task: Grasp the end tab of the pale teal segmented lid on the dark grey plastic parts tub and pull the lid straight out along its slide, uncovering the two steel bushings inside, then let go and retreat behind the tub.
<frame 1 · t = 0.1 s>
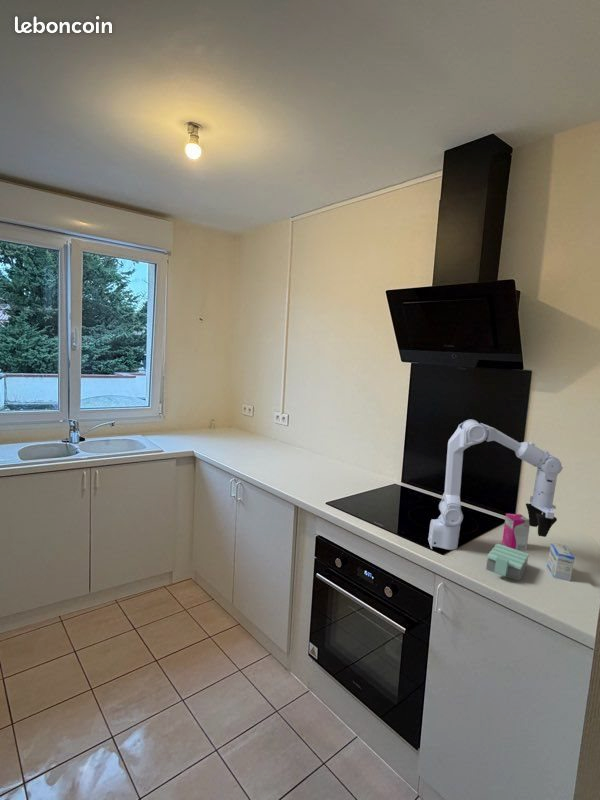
hand: (537, 531, 135), 10 cm above the worktop, fingers open, 7 cm apart
tub: (506, 570, 128), on the worktop
lid: (506, 558, 126), point 5 cm above the worktop, slide at 0.0 cm
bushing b: (501, 566, 129), point 1 cm above the worktop, touching tub
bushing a: (515, 568, 128), point 1 cm above the worktop, touching tub
medicine box: (557, 576, 128), on the worktop
supplement box: (513, 548, 144), on the worktop
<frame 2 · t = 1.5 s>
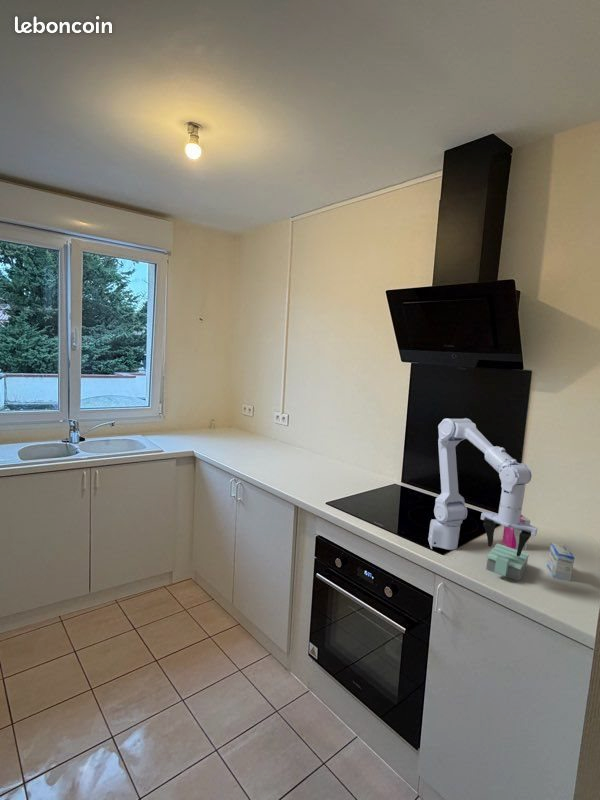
hand: (504, 550, 120), 10 cm above the worktop, fingers open, 7 cm apart
nothing on the worktop moved.
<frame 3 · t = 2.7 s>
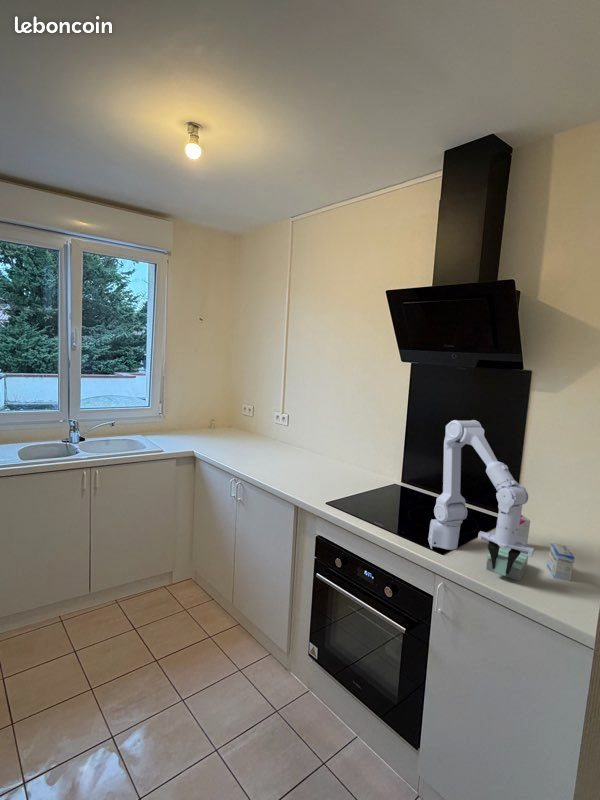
hand: (500, 570, 121), 3 cm above the worktop, fingers closed on lid, 3 cm apart
lid: (506, 558, 126), point 5 cm above the worktop, slide at 0.0 cm, touching gripper
everything else where it was.
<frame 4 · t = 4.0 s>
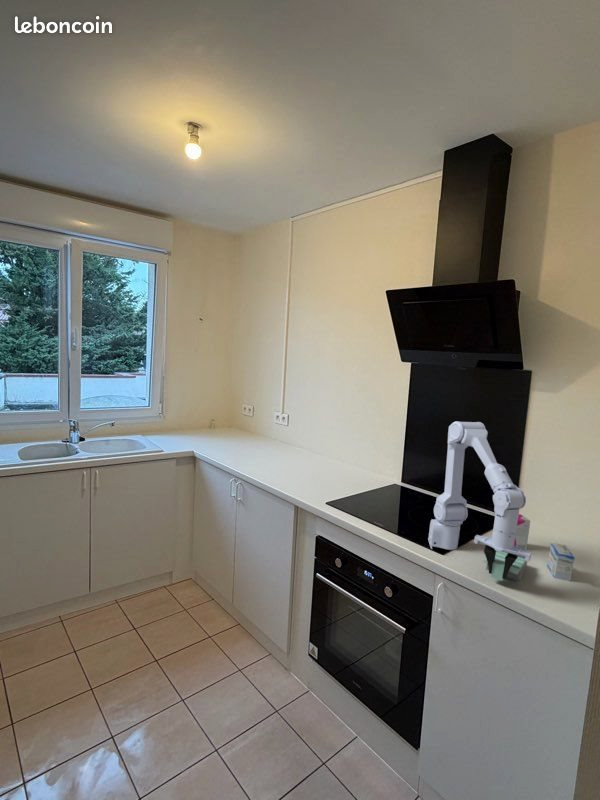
hand: (497, 574, 118), 3 cm above the worktop, fingers closed on lid, 3 cm apart
lid: (503, 562, 123), point 5 cm above the worktop, slide at 3.7 cm, touching gripper
everything else where it was.
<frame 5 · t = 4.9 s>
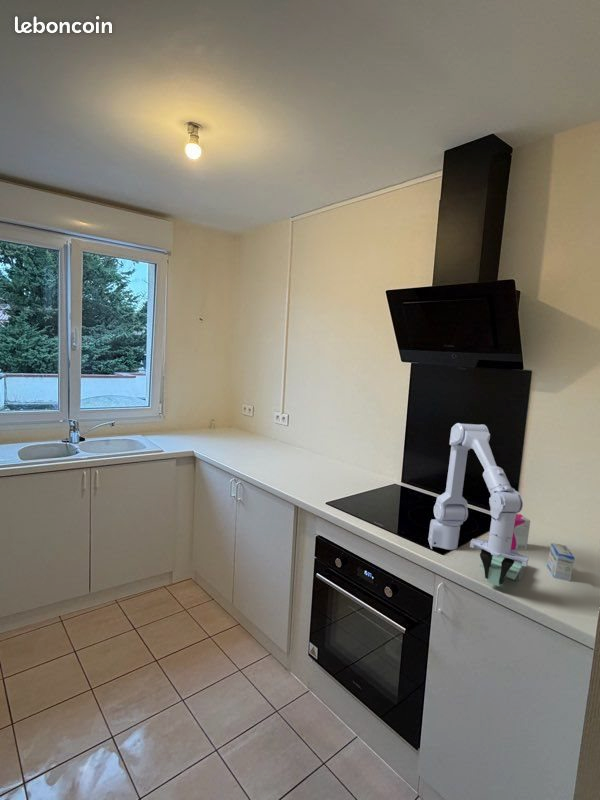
hand: (494, 579, 115), 3 cm above the worktop, fingers closed on lid, 3 cm apart
lid: (500, 567, 120), point 5 cm above the worktop, slide at 7.4 cm, touching gripper
everything else where it was.
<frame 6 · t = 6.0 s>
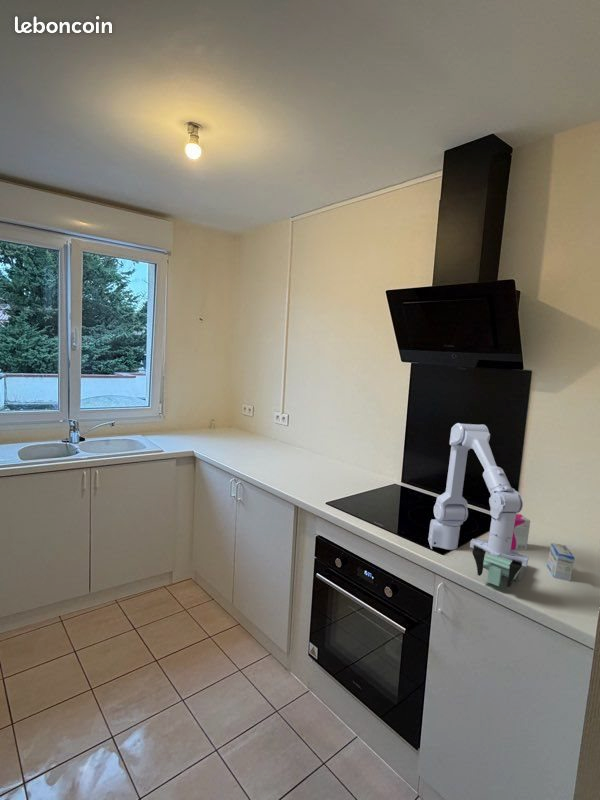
hand: (494, 579, 115), 3 cm above the worktop, fingers open, 7 cm apart
lid: (500, 567, 120), point 5 cm above the worktop, slide at 7.5 cm
everything else where it was.
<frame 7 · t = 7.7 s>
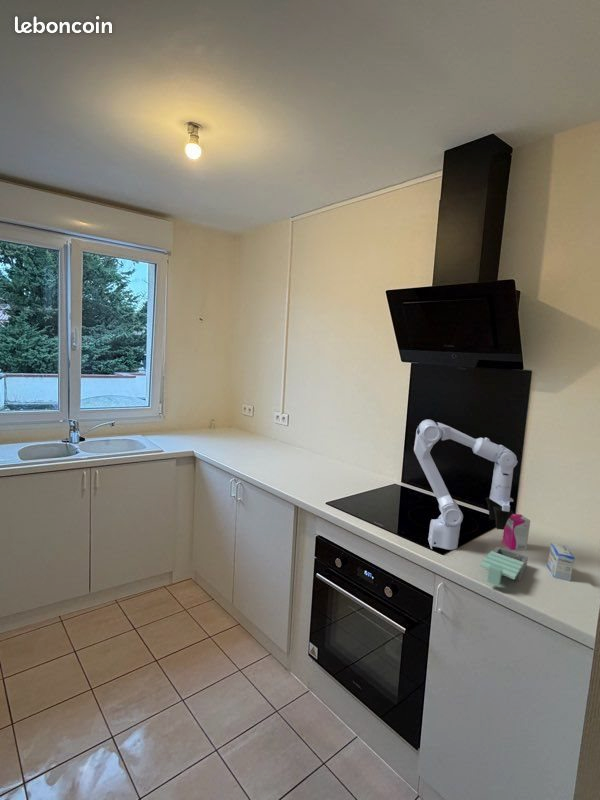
hand: (496, 524, 137), 10 cm above the worktop, fingers open, 7 cm apart
nothing on the worktop moved.
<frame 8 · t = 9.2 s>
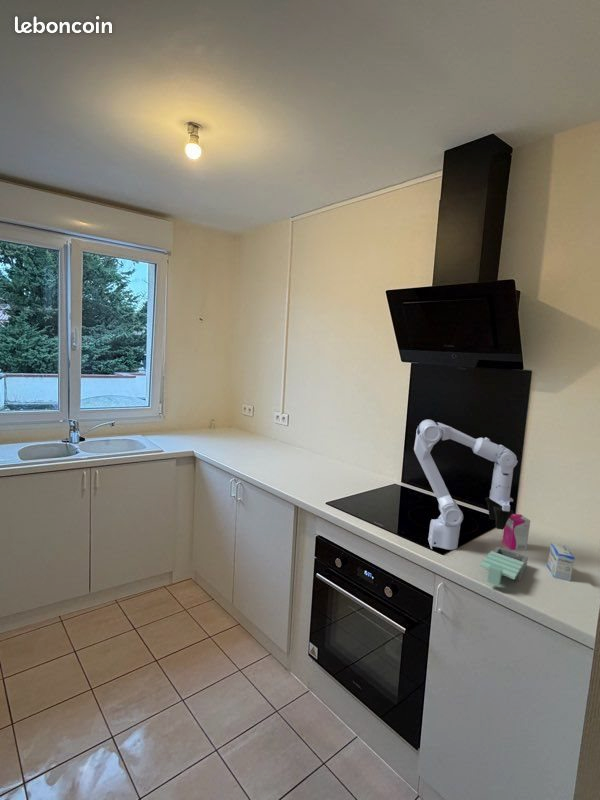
hand: (496, 524, 137), 10 cm above the worktop, fingers open, 7 cm apart
nothing on the worktop moved.
at the end: lid slide at 7.5 cm; the gripper is holding nothing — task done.
